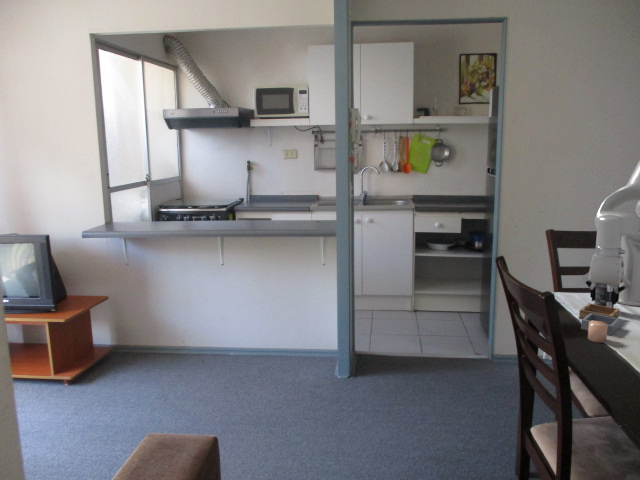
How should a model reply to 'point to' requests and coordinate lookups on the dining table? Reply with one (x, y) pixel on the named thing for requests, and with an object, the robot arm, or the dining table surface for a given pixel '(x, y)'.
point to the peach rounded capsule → (597, 331)
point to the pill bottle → (604, 295)
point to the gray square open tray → (612, 322)
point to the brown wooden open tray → (598, 311)
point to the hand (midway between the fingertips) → (604, 301)
